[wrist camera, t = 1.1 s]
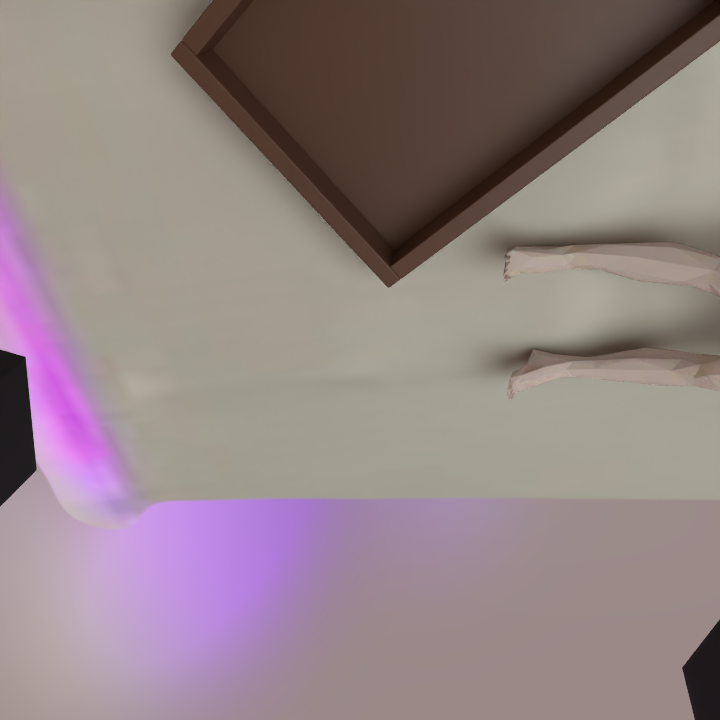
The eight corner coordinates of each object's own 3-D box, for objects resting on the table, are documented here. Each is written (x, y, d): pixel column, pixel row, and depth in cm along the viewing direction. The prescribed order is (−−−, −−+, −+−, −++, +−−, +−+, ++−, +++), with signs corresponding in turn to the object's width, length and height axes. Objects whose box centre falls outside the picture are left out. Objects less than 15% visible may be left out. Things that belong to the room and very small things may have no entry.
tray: (530, -366, 20) (535, -404, 18) (740, -1, 25) (766, 6, 22) (195, 44, 29) (169, 54, 26) (395, 263, 33) (388, 288, 31)
